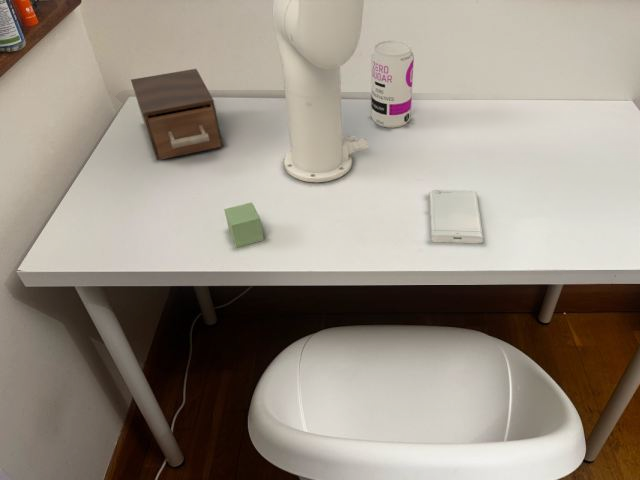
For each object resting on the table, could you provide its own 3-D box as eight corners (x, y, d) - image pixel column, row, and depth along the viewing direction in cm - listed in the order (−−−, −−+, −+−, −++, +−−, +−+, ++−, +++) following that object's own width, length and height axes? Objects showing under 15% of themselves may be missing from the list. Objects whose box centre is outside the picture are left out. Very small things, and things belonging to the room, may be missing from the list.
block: (256, 224, 93) (252, 202, 90) (264, 240, 90) (260, 217, 87) (229, 231, 92) (224, 209, 89) (236, 247, 89) (231, 225, 86)
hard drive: (429, 189, 98) (432, 234, 89) (476, 190, 98) (483, 235, 89) (429, 197, 99) (431, 242, 91) (475, 198, 99) (482, 243, 91)
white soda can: (412, 112, 121) (416, 41, 111) (407, 131, 115) (410, 58, 105) (375, 108, 122) (376, 37, 112) (368, 127, 116) (367, 54, 106)
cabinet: (223, 146, 110) (213, 99, 104) (156, 160, 106) (142, 112, 100) (206, 112, 120) (196, 68, 113) (144, 124, 116) (130, 79, 109)
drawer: (227, 159, 105) (219, 121, 100) (165, 173, 102) (153, 134, 96) (205, 115, 117) (197, 78, 112) (148, 126, 113) (137, 89, 108)
